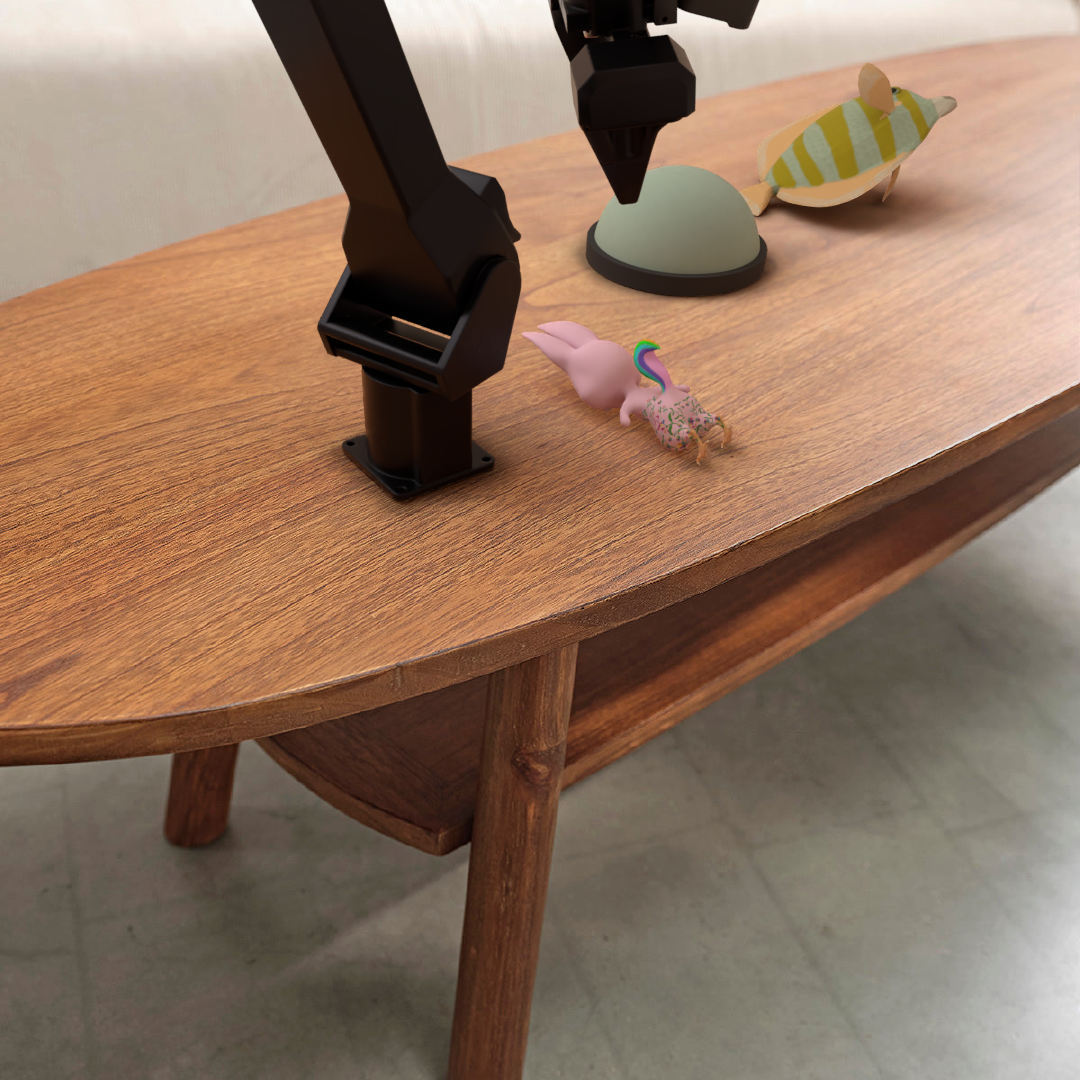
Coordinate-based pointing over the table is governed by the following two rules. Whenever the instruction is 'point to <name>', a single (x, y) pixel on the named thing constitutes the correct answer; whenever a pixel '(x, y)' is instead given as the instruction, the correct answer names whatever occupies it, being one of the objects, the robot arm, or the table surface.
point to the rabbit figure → (628, 384)
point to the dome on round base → (679, 236)
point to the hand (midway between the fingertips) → (617, 164)
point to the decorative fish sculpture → (845, 145)
